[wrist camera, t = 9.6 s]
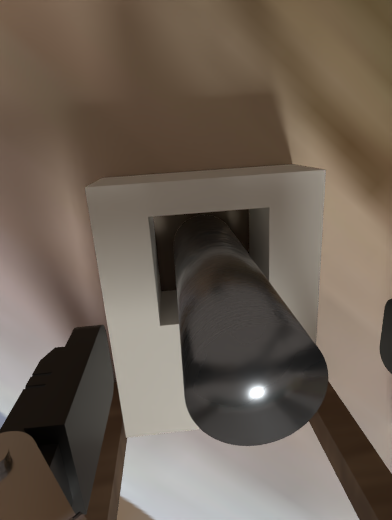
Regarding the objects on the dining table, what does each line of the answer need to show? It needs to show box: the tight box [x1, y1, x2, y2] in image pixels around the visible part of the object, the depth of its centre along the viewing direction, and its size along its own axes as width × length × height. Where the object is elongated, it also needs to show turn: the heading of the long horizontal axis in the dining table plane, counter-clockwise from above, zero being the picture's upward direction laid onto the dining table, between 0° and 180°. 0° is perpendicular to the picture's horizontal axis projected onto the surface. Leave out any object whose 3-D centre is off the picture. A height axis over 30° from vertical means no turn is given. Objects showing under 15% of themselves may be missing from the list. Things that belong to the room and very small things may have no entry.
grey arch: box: [84, 381, 392, 520], centre depth 15 cm, size 4×14×15 cm, turn 94°
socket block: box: [85, 164, 326, 438], centre depth 18 cm, size 13×10×4 cm
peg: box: [173, 215, 328, 446], centre depth 14 cm, size 3×3×12 cm
